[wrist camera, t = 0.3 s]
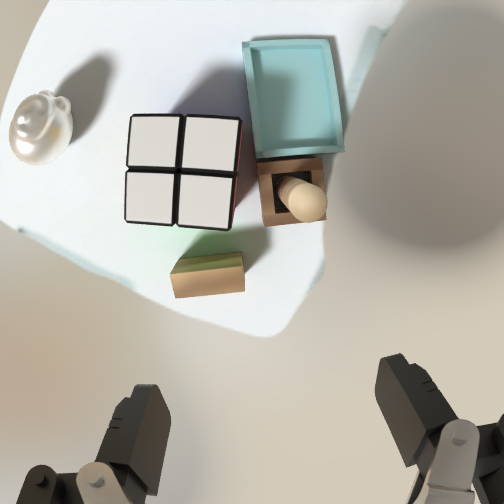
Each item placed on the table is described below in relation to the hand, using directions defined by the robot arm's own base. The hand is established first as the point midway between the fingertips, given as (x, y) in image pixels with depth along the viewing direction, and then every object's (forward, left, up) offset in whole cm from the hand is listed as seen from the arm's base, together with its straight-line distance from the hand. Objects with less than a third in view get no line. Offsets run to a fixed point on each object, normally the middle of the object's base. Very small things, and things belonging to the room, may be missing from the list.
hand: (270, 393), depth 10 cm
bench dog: (+5, -6, -28) cm, 29 cm away
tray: (-14, +6, -28) cm, 32 cm away
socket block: (-3, +5, -28) cm, 28 cm away
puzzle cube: (-7, -6, -28) cm, 29 cm away
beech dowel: (-3, +5, -28) cm, 28 cm away
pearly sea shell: (-16, -24, -28) cm, 40 cm away
